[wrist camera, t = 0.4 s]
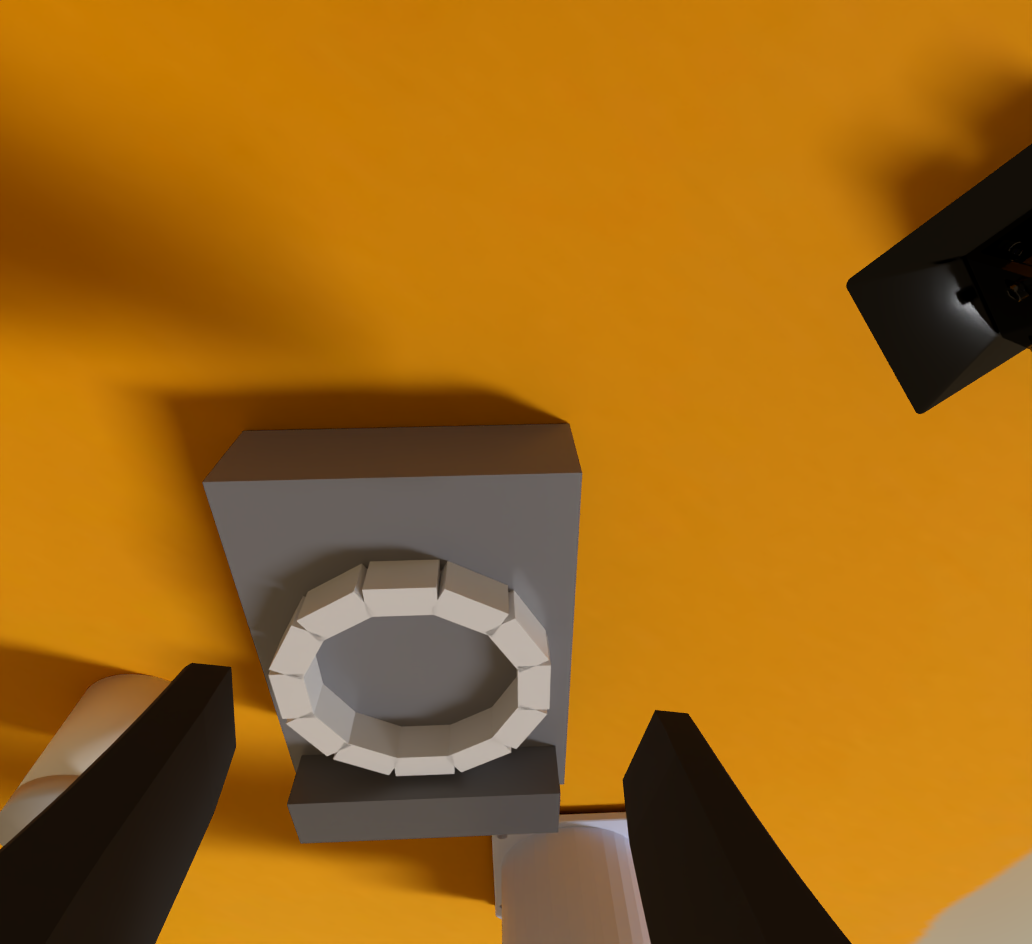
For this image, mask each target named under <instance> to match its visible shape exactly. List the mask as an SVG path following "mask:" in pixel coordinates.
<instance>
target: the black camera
mask: <svg viewBox="0 0 1032 944" xmlns="http://www.w3.org/2000/svg"><path fill="white" fill-rule="evenodd" d="M846 287H847V289H848V291H849V293H850V295H851V297H852V298H853V300H854V302H855V304H856V306H857V307H858V309H859V311H860V313H861V315H862V316H863V318H864V320H865V322H866V323H867V325H868V327H869V329H870V331H871V332H872V334H873V336H874V338H875V340H876V341H877V343H878V345H879V347H880V349H881V350H882V352H883V354H884V356H885V358H886V359H887V361H888V363H889V365H890V367H891V368H892V370H893V372H894V374H895V376H896V377H897V379H898V381H899V383H900V385H901V386H902V388H903V390H904V392H905V393H906V395H907V397H908V399H909V401H910V402H911V404H912V406H913V408H914V410H915V411H916V413H918V414H922V413H924V412H926V411H928V410H929V409H931V408H932V407H934V406H936V405H937V404H939V403H940V402H942V401H943V400H945V399H947V398H948V397H950V396H951V395H953V394H955V393H956V392H958V391H959V390H961V389H963V388H964V387H966V386H967V385H969V384H970V383H972V382H974V381H975V380H977V379H978V378H980V377H982V376H983V375H985V374H986V373H988V372H990V371H991V370H993V369H994V368H996V367H998V366H999V365H1001V364H1002V363H1004V362H1005V361H1007V360H1009V359H1010V358H1012V357H1013V356H1015V355H1017V354H1018V353H1020V352H1021V351H1023V350H1025V349H1026V348H1028V349H1030V350H1031V351H1032V144H1031V145H1030V146H1028V147H1027V148H1026V149H1024V150H1023V151H1021V152H1020V153H1019V154H1017V155H1016V156H1015V157H1013V158H1012V159H1011V160H1009V161H1008V162H1007V163H1005V164H1004V165H1003V166H1001V167H1000V168H999V169H997V170H996V171H994V172H993V173H992V174H990V175H989V176H988V177H986V178H985V179H984V180H982V181H981V182H980V183H978V184H977V185H976V186H974V187H973V188H971V189H970V190H969V191H967V192H966V193H965V194H963V195H962V196H961V197H959V198H958V199H957V200H955V201H954V202H953V203H951V204H950V205H949V206H947V207H946V208H944V209H943V210H942V211H940V212H939V213H938V214H936V215H935V216H934V217H932V218H931V219H930V220H928V221H927V222H926V223H924V224H923V225H922V226H920V227H919V228H917V229H916V230H915V231H913V232H912V233H911V234H909V235H908V236H907V237H905V238H904V239H903V240H901V241H900V242H899V243H897V244H896V245H894V246H893V247H892V248H890V249H889V250H888V251H886V252H885V253H884V254H882V255H881V256H880V257H878V258H877V259H876V260H874V261H873V262H872V263H870V264H869V265H867V266H866V267H865V268H863V269H862V270H861V271H859V272H858V273H857V274H855V275H854V276H853V277H851V278H850V279H849V280H848V282H847V285H846Z"/></svg>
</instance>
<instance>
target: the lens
mask: <svg viewBox="0 0 1032 944" xmlns="http://www.w3.org/2000/svg"><path fill="white" fill-rule="evenodd" d="M170 683H171V682H170V681H168V680H165V679H162V678H158V677H154V676H148V675H141V674H120V675H114V676H110V677H106V678H103V679H101V680H99V681H97V682H95V683H94V684H92V685H91V686H90V687H89V688H88V689H87V691H86V692H85V693H84V695H83V696H82V698H81V699H80V700H79V702H78V703H77V705H76V706H75V707H74V709H73V710H72V712H71V713H70V715H69V716H68V717H67V719H66V720H65V722H64V723H63V724H62V726H61V727H60V729H59V730H58V731H57V733H56V734H55V736H54V737H53V738H52V740H51V741H50V743H49V744H48V746H47V747H46V748H45V750H44V751H43V753H42V754H41V755H40V757H39V758H38V760H37V761H36V762H35V764H34V765H33V767H32V768H31V770H30V771H29V772H28V774H27V775H26V777H25V778H24V779H23V781H22V782H21V784H20V785H19V786H18V788H17V789H16V791H15V792H14V793H13V795H12V796H11V798H10V799H9V801H8V802H7V803H6V805H5V806H4V808H3V809H2V810H1V812H0V844H1V845H2V846H4V845H6V844H7V843H8V842H9V841H10V840H11V839H12V838H13V837H14V836H15V835H17V834H18V833H19V832H20V831H21V830H22V829H23V828H24V827H25V826H26V825H28V824H29V823H30V822H31V821H32V820H33V819H34V818H35V817H36V816H37V815H39V814H40V813H41V812H42V811H43V810H44V809H45V808H46V807H47V806H49V805H50V804H51V803H52V802H53V801H54V800H55V799H56V798H57V797H58V796H59V795H60V794H61V793H62V792H63V791H65V790H66V789H67V788H68V787H69V786H70V785H71V784H72V783H73V782H74V781H75V780H76V779H77V778H78V777H79V776H80V775H81V774H82V773H83V772H84V771H85V770H86V769H87V768H88V767H89V766H90V765H91V764H92V763H93V762H94V761H95V760H96V759H97V758H98V757H99V756H100V755H101V754H102V753H103V752H104V751H106V750H107V749H108V748H109V747H110V746H111V745H112V744H113V743H114V742H115V741H116V740H117V739H118V738H119V736H120V735H121V734H122V733H123V732H124V731H125V730H126V729H127V728H128V727H129V726H130V725H131V724H132V723H133V722H134V721H135V720H136V719H137V718H138V717H139V716H140V715H141V714H142V713H143V712H144V711H145V710H146V709H147V708H148V707H149V705H150V704H151V703H152V702H153V701H154V700H155V699H156V698H157V697H158V696H159V695H160V694H161V693H162V692H163V691H164V689H165V688H166V687H167V686H168V685H169V684H170Z"/></svg>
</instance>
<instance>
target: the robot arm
mask: <svg viewBox="0 0 1032 944" xmlns="http://www.w3.org/2000/svg"><path fill="white" fill-rule="evenodd" d="M235 748H236V738H235V722H234V705H233V688H232V672H231V667H226V666H217V665H207V664H197V663H191V664H189V665H188V666H186V667H185V668H184V669H183V670H182V671H181V672H180V673H179V674H178V675H177V676H176V678H175V679H174V680H173V681H172V682H171V683H170V684H169V685H168V686H167V687H166V688H165V689H164V691H163V692H162V693H161V694H160V695H159V696H158V697H157V698H156V699H155V700H154V701H153V702H152V703H151V704H150V705H149V707H148V708H147V709H146V710H145V711H144V712H143V713H142V714H141V715H140V716H139V717H138V718H137V719H136V720H135V721H134V722H133V723H132V724H131V725H130V726H129V727H128V728H127V729H126V730H125V731H124V732H123V733H122V734H121V735H120V736H119V738H118V739H117V740H116V741H115V742H114V743H113V744H112V745H111V746H110V747H109V748H108V749H107V750H106V751H104V752H103V753H102V754H101V755H100V756H99V757H98V758H97V759H96V760H95V761H94V762H93V763H92V764H91V765H90V766H89V767H88V768H87V769H86V770H85V771H84V772H83V773H82V774H81V775H80V776H79V777H78V778H77V779H76V780H75V781H74V782H73V783H72V784H71V785H70V786H69V787H68V788H67V789H66V790H65V791H63V792H62V793H61V794H60V795H59V796H58V797H57V798H56V799H55V800H54V801H53V802H52V803H51V804H50V805H49V806H47V807H46V808H45V809H44V810H43V811H42V812H41V813H40V814H39V815H37V816H36V817H35V818H34V819H33V820H32V821H31V822H30V823H29V824H28V825H26V826H25V827H24V828H23V829H22V830H21V831H20V832H19V833H18V834H17V835H15V836H14V837H13V838H12V839H11V840H10V841H9V842H8V843H7V844H6V845H4V846H3V847H2V848H1V849H0V944H155V943H156V940H157V938H158V936H159V934H160V932H161V929H162V927H163V925H164V923H165V921H166V918H167V916H168V914H169V912H170V910H171V907H172V905H173V903H174V901H175V899H176V896H177V894H178V892H179V890H180V888H181V885H182V883H183V881H184V879H185V876H186V874H187V872H188V870H189V868H190V865H191V863H192V861H193V859H194V856H195V854H196V852H197V850H198V848H199V845H200V843H201V841H202V839H203V836H204V834H205V832H206V830H207V827H208V825H209V823H210V821H211V818H212V816H213V814H214V811H215V808H216V805H217V802H218V799H219V796H220V794H221V791H222V788H223V785H224V782H225V779H226V776H227V773H228V770H229V767H230V764H231V760H232V757H233V754H234V751H235ZM623 788H624V798H625V809H626V812H611V813H587V814H563V815H559V828H558V832H557V833H534V834H510V835H492V849H493V869H494V889H495V910H496V916H497V917H498V918H500V919H502V944H852V943H851V942H850V941H849V940H848V939H847V937H846V936H845V935H844V934H843V932H842V931H841V930H840V929H839V927H838V926H837V925H836V923H835V922H834V921H833V920H832V918H831V917H830V916H829V915H828V913H827V912H826V911H825V909H824V908H823V907H822V905H821V904H820V903H819V901H818V900H817V899H816V898H815V896H814V895H813V894H812V892H811V891H810V890H809V888H808V887H807V886H806V884H805V883H804V882H803V880H802V879H801V878H800V876H799V875H798V874H797V872H796V871H795V870H794V868H793V867H792V865H791V864H790V863H789V861H788V860H787V859H786V857H785V856H784V854H783V853H782V852H781V850H780V849H779V847H778V846H777V845H776V843H775V842H774V840H773V839H772V837H771V836H770V835H769V833H768V832H767V830H766V829H765V827H764V826H763V825H762V823H761V822H760V820H759V819H758V818H757V816H756V815H755V813H754V812H753V810H752V809H751V807H750V806H749V804H748V803H747V802H746V800H745V799H744V797H743V796H742V794H741V793H740V791H739V790H738V788H737V787H736V785H735V784H734V782H733V781H732V779H731V778H730V776H729V775H728V773H727V772H726V770H725V769H724V767H723V766H722V764H721V763H720V761H719V760H718V758H717V756H716V755H715V753H714V752H713V750H712V749H711V747H710V746H709V744H708V743H707V741H706V740H705V738H704V737H703V735H702V734H701V732H700V731H699V729H698V728H697V726H696V725H695V723H694V722H693V720H692V719H691V717H690V716H689V714H688V713H678V712H669V711H659V710H655V712H654V714H653V716H652V718H651V720H650V723H649V725H648V727H647V729H646V731H645V733H644V735H643V738H642V740H641V742H640V744H639V746H638V748H637V750H636V752H635V755H634V757H633V759H632V761H631V763H630V765H629V767H628V770H627V772H626V774H625V776H624V778H623Z"/></svg>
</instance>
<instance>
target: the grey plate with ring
mask: <svg viewBox="0 0 1032 944" xmlns="http://www.w3.org/2000/svg"><path fill="white" fill-rule="evenodd" d="M581 482H582V471H581V467H580V463H579V459H578V455H577V452H576V448H575V444H574V440H573V436H572V432H571V429H570V425H569V424H528V425H484V426H439V427H394V428H350V429H305V430H261V431H243V432H242V433H241V434H240V436H239V437H238V438H237V439H236V441H235V442H234V443H233V444H232V446H231V447H230V448H229V449H228V451H227V452H226V453H225V454H224V456H223V457H222V458H221V459H220V461H219V462H218V463H217V464H216V466H215V467H214V468H213V469H212V471H211V472H210V473H209V474H208V476H207V477H206V478H205V479H204V481H203V482H202V483H203V486H204V489H205V492H206V495H207V498H208V501H209V505H210V508H211V511H212V514H213V517H214V520H215V523H216V526H217V529H218V532H219V536H220V539H221V542H222V545H223V548H224V551H225V554H226V557H227V560H228V563H229V567H230V570H231V573H232V576H233V579H234V582H235V585H236V588H237V591H238V595H239V598H240V601H241V604H242V607H243V610H244V613H245V616H246V619H247V622H248V626H249V629H250V632H251V635H252V638H253V641H254V644H255V647H256V650H257V653H258V657H259V660H260V663H261V666H262V669H263V672H264V675H265V678H266V681H267V684H268V688H269V691H270V694H271V697H272V700H273V703H274V706H275V709H276V712H277V715H278V719H279V722H280V725H281V728H282V731H283V734H284V737H285V740H286V743H287V747H288V750H289V753H290V756H291V759H292V762H293V765H294V768H295V771H296V776H295V779H294V783H293V786H292V789H291V793H290V796H289V800H288V803H287V806H288V809H289V812H290V814H291V817H292V820H293V823H294V826H295V829H296V832H297V834H298V837H299V840H300V843H322V842H345V841H369V840H393V839H416V838H440V837H463V836H487V835H510V834H534V833H557V832H558V828H559V809H560V785H559V784H564V775H565V758H566V741H567V723H568V706H569V689H570V672H571V654H572V637H573V620H574V603H575V586H576V568H577V551H578V534H579V517H580V499H581Z"/></svg>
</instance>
